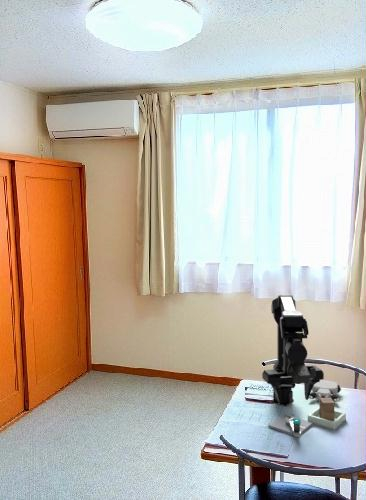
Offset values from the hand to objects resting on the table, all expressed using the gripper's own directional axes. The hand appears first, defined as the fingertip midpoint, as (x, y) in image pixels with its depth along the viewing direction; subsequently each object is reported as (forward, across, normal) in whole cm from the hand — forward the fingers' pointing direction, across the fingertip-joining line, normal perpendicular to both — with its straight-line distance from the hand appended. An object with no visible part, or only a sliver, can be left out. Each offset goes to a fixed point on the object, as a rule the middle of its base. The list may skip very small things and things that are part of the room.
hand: (293, 400), depth 148 cm
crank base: (+12, +3, +9) cm, 15 cm away
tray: (+12, +16, +9) cm, 22 cm away
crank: (+12, +2, +4) cm, 12 cm away
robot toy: (+12, +25, +28) cm, 40 cm away
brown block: (+12, +16, +9) cm, 22 cm away
